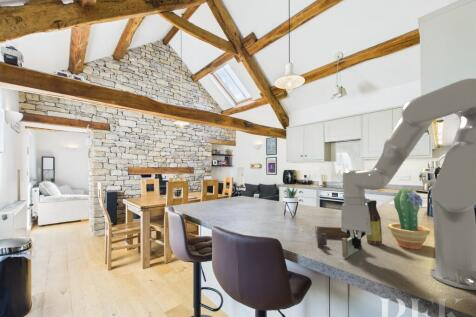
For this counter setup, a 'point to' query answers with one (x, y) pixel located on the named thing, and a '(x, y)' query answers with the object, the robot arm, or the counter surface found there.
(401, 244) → the potted cactus
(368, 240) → the sauce bottle
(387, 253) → the counter surface
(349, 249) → the gate
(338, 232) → the pen fence
